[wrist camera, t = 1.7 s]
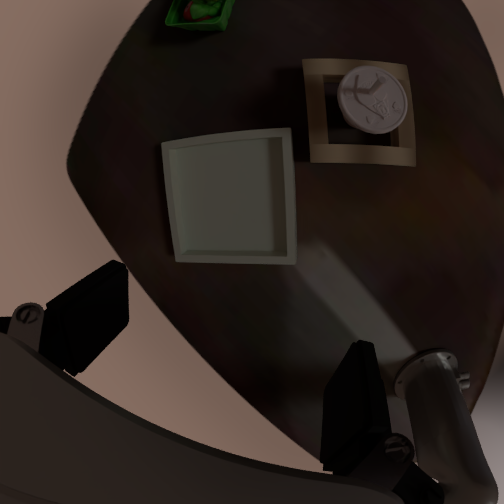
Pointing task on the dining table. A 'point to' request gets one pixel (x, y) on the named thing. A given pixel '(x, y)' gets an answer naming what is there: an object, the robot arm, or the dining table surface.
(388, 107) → the smoothie
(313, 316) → the dining table surface
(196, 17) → the fruit basket
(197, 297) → the dining table surface
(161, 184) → the dining table surface
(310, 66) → the holder
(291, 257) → the tray
